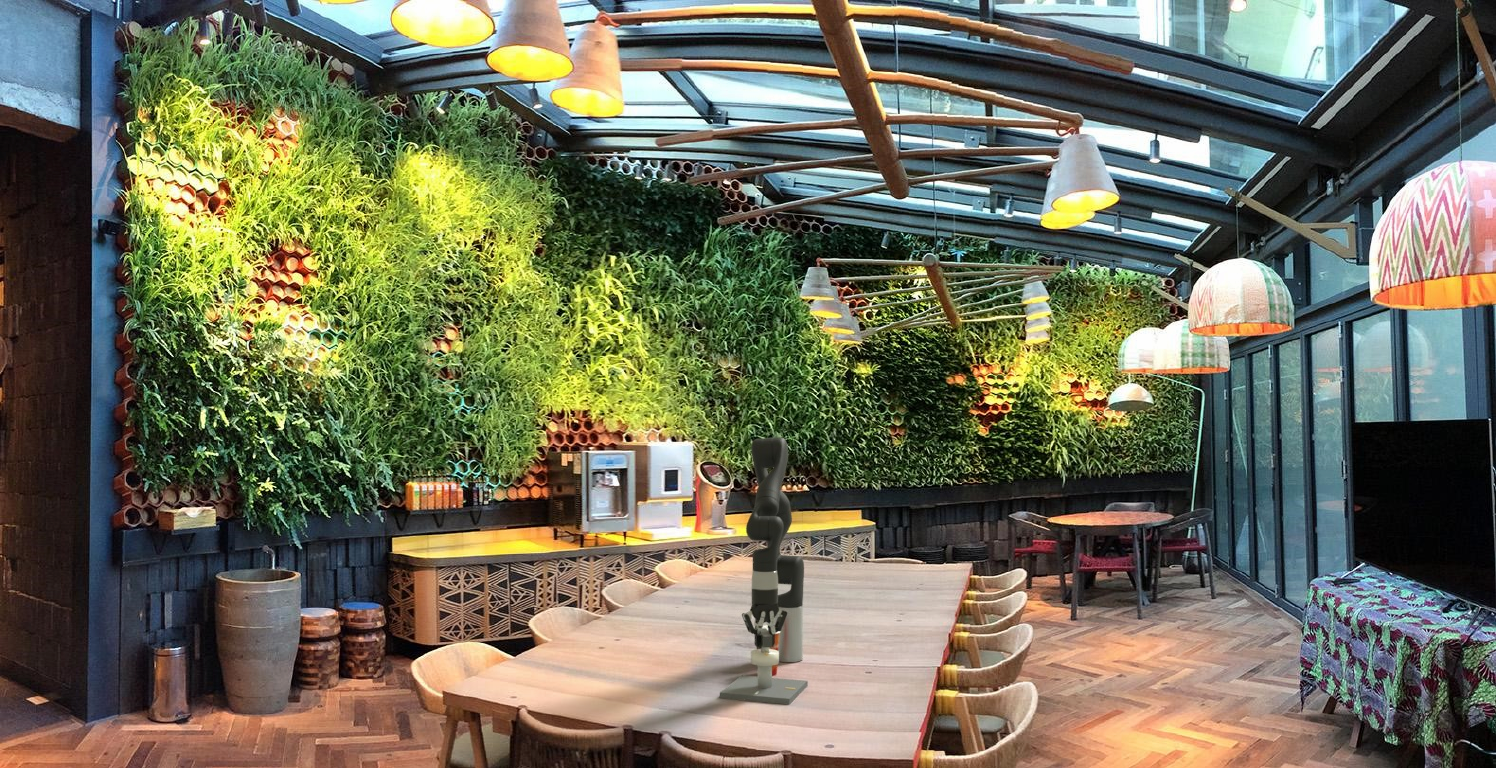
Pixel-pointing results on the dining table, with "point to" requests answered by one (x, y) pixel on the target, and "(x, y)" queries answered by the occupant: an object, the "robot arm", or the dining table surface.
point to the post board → (764, 688)
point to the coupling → (765, 651)
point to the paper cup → (775, 647)
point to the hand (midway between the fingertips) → (764, 647)
